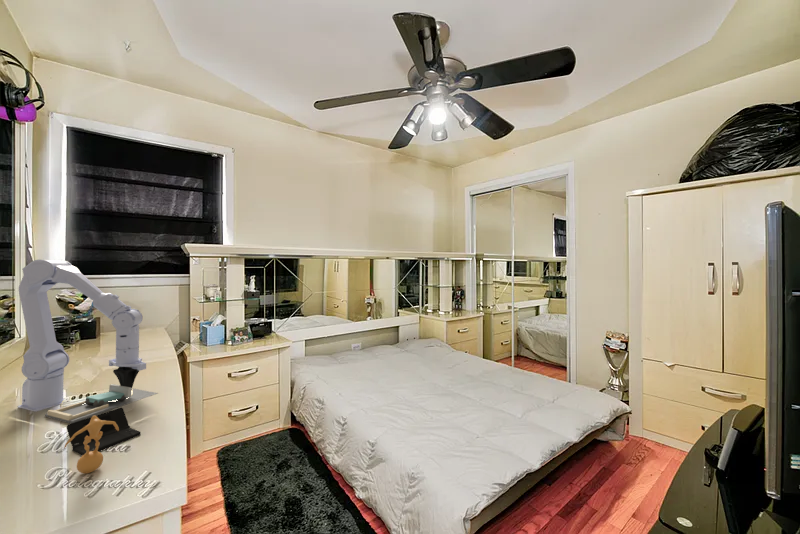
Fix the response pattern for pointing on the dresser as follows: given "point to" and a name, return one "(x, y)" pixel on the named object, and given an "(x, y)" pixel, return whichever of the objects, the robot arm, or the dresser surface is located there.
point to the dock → (92, 408)
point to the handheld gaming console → (109, 432)
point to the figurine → (93, 458)
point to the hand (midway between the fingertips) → (126, 390)
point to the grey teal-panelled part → (109, 395)
